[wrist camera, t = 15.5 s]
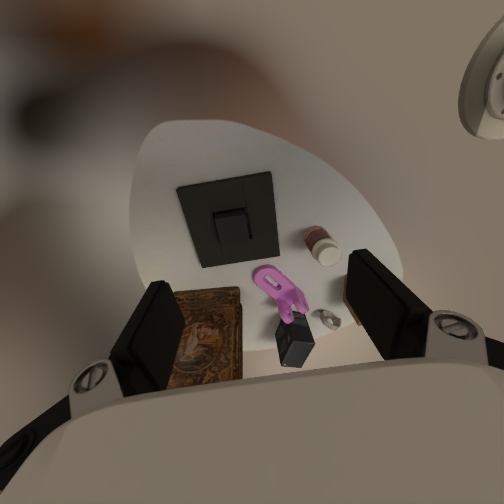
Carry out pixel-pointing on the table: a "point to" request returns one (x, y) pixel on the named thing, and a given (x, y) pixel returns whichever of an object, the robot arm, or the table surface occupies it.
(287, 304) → the bracket
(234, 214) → the pad
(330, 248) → the pill bottle
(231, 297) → the book
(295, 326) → the box
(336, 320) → the wristwatch
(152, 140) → the table surface
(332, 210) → the table surface
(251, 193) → the base pad
